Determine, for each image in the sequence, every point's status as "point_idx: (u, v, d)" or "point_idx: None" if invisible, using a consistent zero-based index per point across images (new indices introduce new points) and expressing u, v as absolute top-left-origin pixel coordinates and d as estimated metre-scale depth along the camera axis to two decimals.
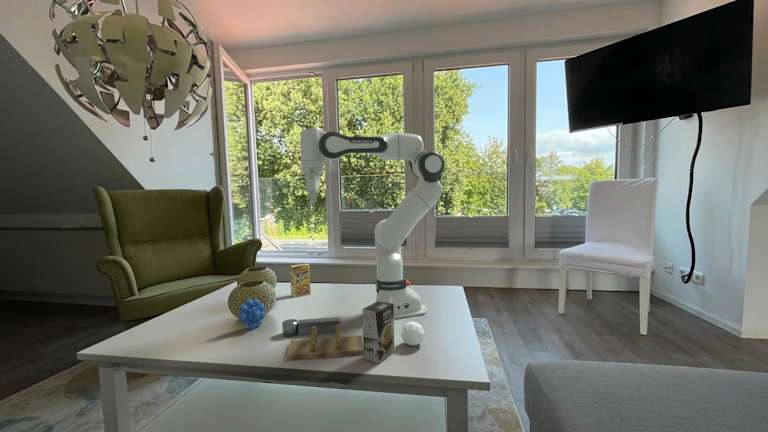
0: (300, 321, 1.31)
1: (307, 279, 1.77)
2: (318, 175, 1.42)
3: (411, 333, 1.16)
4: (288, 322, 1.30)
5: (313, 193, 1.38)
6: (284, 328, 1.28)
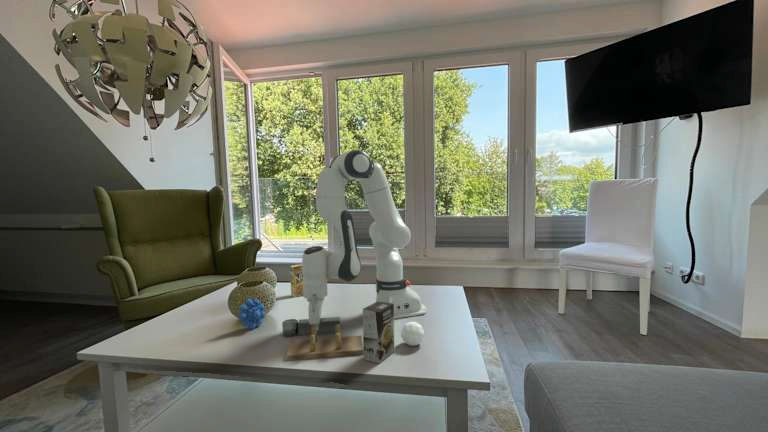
0: (300, 321, 1.31)
1: None
2: (322, 299, 1.29)
3: (411, 333, 1.16)
4: (288, 321, 1.30)
5: None
6: (284, 328, 1.28)
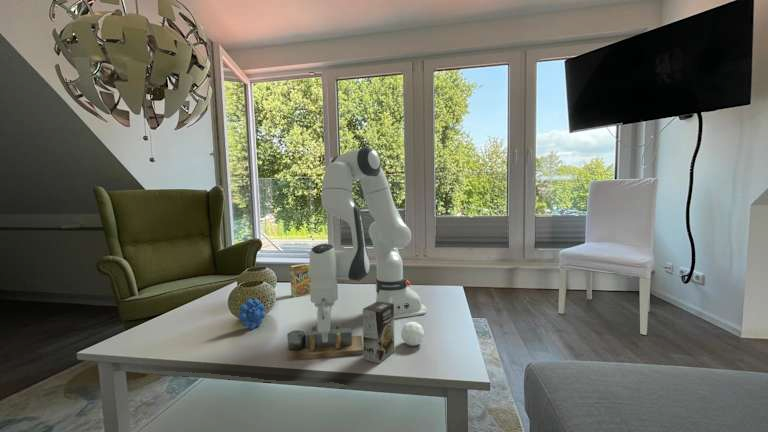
0: (307, 333, 1.16)
1: (307, 279, 1.77)
2: (332, 304, 1.15)
3: (411, 333, 1.16)
4: (294, 333, 1.16)
5: None
6: (289, 341, 1.14)
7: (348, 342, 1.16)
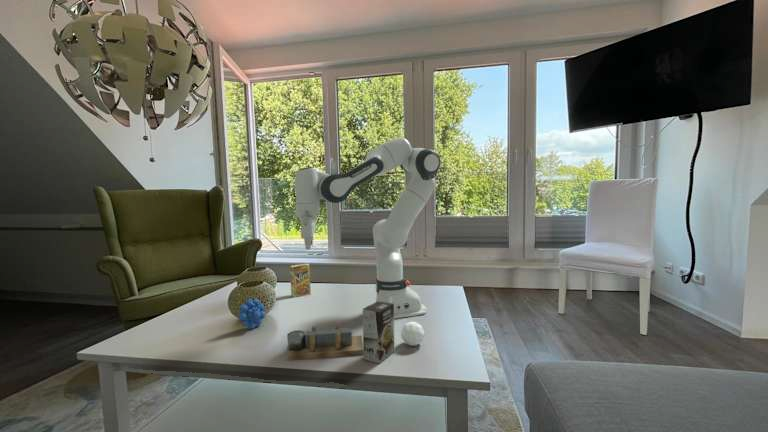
0: (307, 333, 1.16)
1: (307, 279, 1.77)
2: (314, 218, 1.31)
3: (411, 333, 1.16)
4: (294, 333, 1.16)
5: (308, 239, 1.27)
6: (289, 341, 1.14)
7: (348, 342, 1.16)
